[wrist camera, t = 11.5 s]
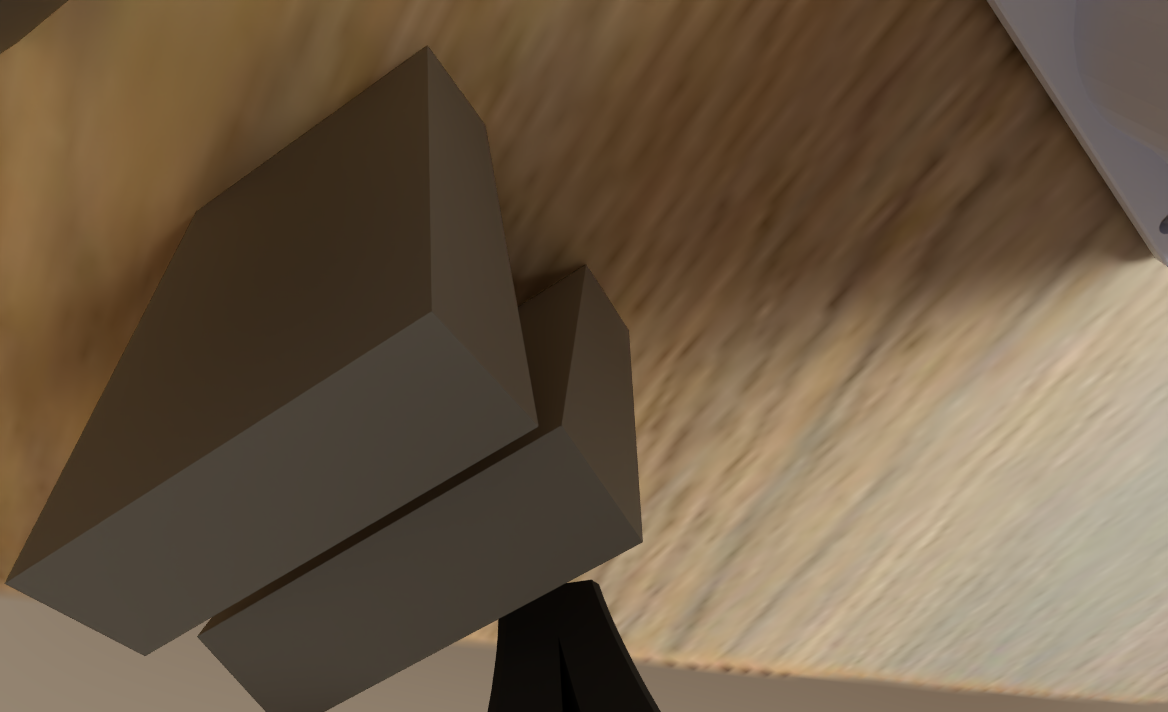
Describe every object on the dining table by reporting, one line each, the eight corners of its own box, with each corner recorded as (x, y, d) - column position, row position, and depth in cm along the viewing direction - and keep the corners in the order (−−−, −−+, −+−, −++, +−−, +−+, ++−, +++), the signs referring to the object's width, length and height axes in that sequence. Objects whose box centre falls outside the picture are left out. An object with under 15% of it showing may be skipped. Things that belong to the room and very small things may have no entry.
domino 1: (485, 125, 14) (538, 426, 7) (264, 276, 15) (145, 656, 8) (427, 45, 13) (431, 310, 7) (196, 211, 14) (4, 583, 8)
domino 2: (629, 330, 16) (642, 542, 9) (430, 448, 17) (285, 732, 10) (586, 264, 16) (562, 425, 8) (384, 389, 17) (197, 635, 9)
